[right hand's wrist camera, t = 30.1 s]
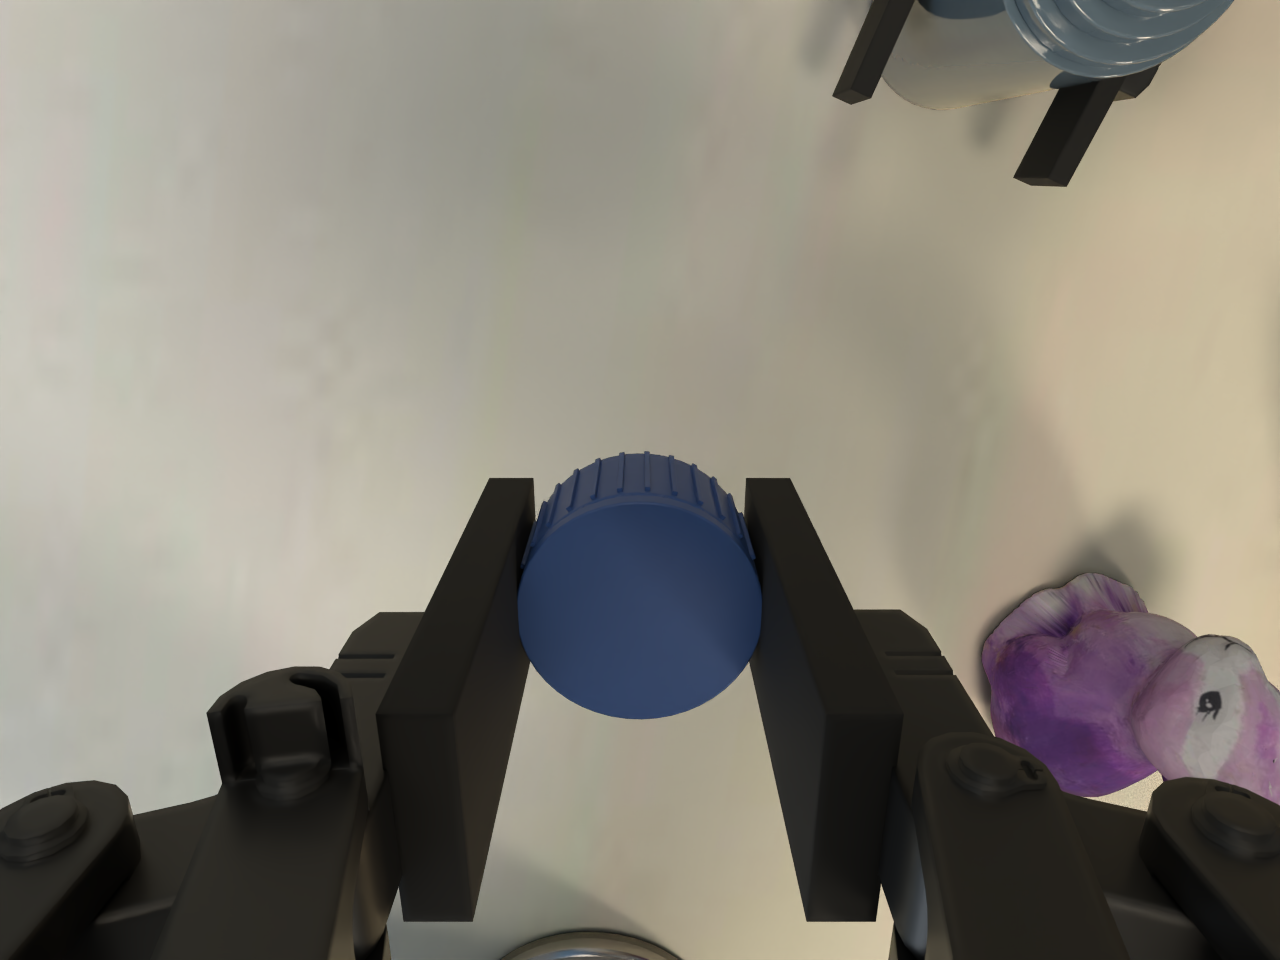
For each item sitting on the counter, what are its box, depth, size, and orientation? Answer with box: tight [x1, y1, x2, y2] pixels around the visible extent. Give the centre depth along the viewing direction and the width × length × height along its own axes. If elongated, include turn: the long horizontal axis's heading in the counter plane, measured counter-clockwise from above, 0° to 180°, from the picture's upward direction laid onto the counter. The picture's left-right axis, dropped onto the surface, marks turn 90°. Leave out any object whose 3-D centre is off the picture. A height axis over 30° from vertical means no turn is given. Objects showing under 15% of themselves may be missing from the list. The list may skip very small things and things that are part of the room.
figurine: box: [982, 573, 1280, 805], centre depth 36 cm, size 9×10×15 cm
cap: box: [517, 451, 762, 719], centre depth 13 cm, size 4×4×2 cm
